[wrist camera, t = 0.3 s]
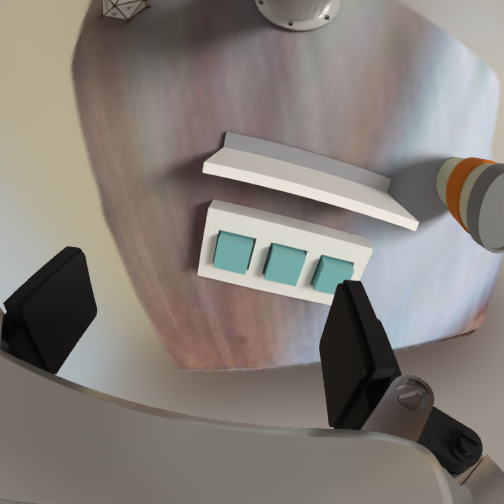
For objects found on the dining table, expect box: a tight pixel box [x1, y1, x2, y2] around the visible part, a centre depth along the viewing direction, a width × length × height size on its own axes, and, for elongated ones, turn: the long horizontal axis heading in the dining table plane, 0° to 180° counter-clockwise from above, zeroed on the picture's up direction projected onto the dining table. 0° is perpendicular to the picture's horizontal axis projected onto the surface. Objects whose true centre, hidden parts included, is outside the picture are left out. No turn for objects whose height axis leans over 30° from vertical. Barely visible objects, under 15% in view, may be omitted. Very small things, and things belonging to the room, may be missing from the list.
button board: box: [198, 199, 373, 305], centre depth 47 cm, size 12×26×4 cm, turn 77°
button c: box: [312, 255, 354, 295], centre depth 45 cm, size 5×5×3 cm
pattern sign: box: [202, 131, 419, 231], centre depth 36 cm, size 6×26×13 cm, turn 77°
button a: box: [213, 231, 254, 275], centre depth 44 cm, size 5×5×3 cm
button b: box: [264, 243, 306, 286], centre depth 45 cm, size 5×5×3 cm
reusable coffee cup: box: [436, 157, 504, 253], centre depth 33 cm, size 13×13×15 cm
